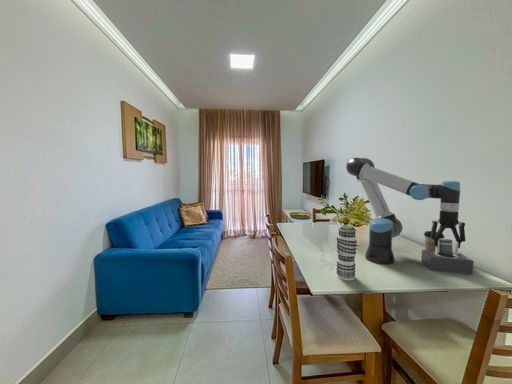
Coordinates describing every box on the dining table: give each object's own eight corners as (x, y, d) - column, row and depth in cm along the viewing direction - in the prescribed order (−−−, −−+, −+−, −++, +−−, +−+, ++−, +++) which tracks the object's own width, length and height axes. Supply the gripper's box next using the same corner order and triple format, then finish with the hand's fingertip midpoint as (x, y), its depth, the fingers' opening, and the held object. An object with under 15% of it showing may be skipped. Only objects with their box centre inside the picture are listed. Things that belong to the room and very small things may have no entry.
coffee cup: (446, 261, 133) (448, 235, 132) (427, 259, 135) (429, 234, 134) (437, 255, 143) (438, 231, 141) (419, 253, 144) (420, 230, 143)
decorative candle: (332, 276, 113) (333, 226, 111) (340, 271, 119) (342, 223, 117) (350, 282, 106) (352, 229, 104) (358, 276, 113) (360, 226, 111)
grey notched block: (430, 270, 120) (430, 256, 120) (421, 261, 132) (422, 248, 131) (472, 274, 115) (473, 259, 114) (459, 265, 126) (460, 252, 126)
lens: (441, 260, 121) (441, 241, 120) (437, 256, 126) (436, 238, 126) (455, 260, 119) (454, 241, 119) (449, 256, 125) (449, 238, 124)
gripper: (429, 210, 120) (426, 253, 122) (477, 212, 114) (473, 257, 116) (423, 208, 127) (421, 249, 129) (468, 210, 121) (465, 252, 123)
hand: (446, 253), depth 123 cm, fingers open, 7 cm apart
